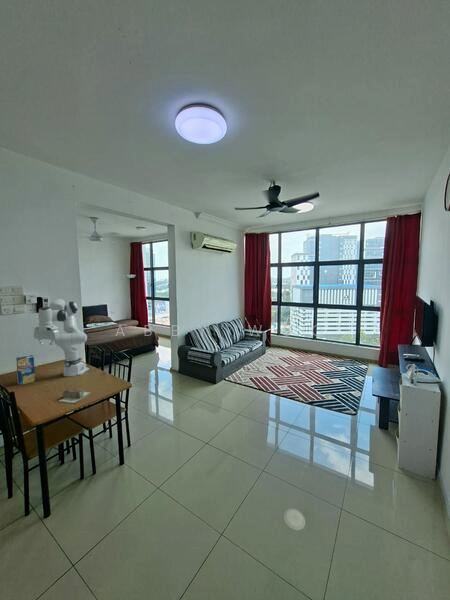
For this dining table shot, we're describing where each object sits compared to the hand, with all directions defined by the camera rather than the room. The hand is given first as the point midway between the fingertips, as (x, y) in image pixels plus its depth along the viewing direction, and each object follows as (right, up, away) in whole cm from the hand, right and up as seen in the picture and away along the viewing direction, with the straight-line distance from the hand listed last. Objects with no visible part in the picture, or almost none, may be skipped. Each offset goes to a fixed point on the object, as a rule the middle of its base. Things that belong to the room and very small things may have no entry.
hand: (46, 344), depth 193 cm
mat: (+29, -39, -10) cm, 49 cm away
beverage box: (-29, -36, +15) cm, 49 cm away
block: (+21, -35, -9) cm, 42 cm away
